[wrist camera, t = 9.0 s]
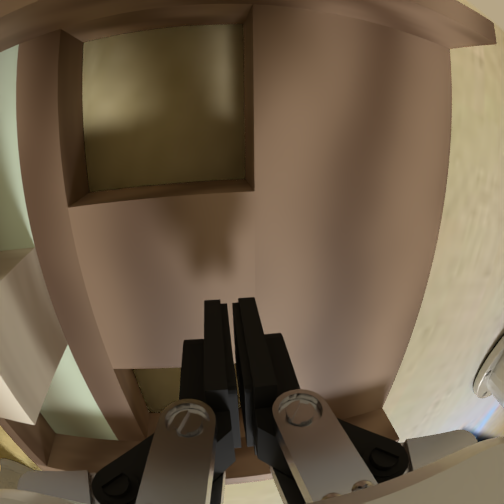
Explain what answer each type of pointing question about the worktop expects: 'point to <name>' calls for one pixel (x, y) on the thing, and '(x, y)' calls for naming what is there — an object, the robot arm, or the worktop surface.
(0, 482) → the white and black mug
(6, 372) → the block
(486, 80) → the worktop surface
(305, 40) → the box
